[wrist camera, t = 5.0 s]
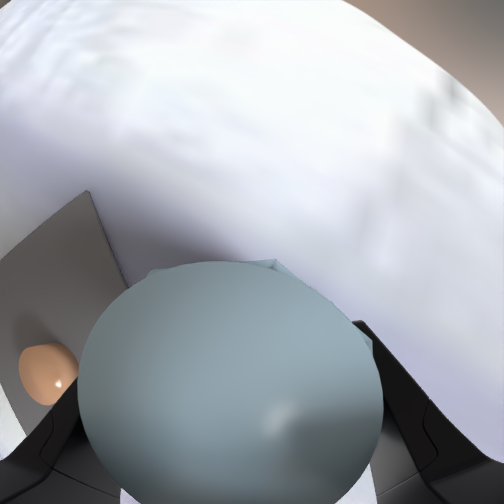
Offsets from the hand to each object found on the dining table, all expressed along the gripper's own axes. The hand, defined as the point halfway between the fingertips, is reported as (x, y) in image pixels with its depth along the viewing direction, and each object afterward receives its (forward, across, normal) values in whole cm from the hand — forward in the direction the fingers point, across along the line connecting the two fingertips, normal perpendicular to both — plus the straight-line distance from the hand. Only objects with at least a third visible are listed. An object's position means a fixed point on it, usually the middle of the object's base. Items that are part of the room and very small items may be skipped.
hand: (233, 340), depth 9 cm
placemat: (+4, +14, +9) cm, 17 cm away
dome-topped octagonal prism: (+4, 0, +6) cm, 7 cm away
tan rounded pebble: (+4, +14, +8) cm, 17 cm away
